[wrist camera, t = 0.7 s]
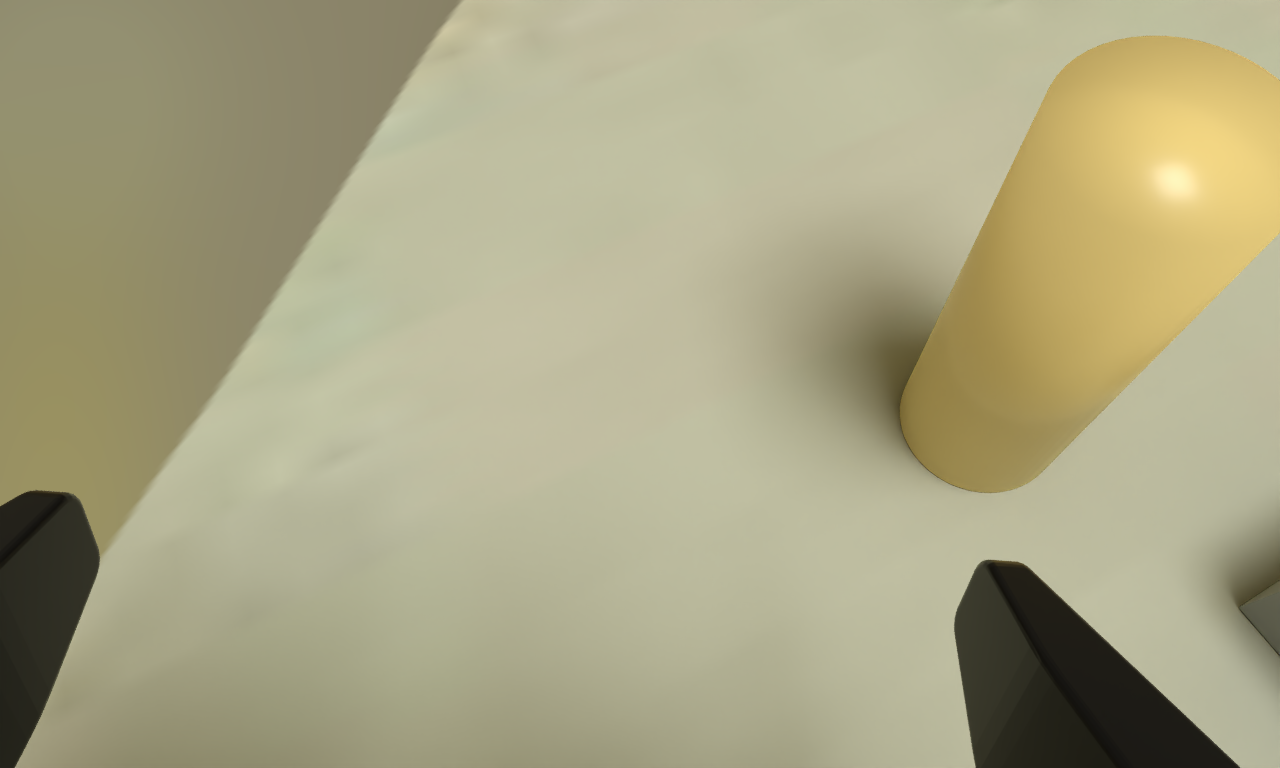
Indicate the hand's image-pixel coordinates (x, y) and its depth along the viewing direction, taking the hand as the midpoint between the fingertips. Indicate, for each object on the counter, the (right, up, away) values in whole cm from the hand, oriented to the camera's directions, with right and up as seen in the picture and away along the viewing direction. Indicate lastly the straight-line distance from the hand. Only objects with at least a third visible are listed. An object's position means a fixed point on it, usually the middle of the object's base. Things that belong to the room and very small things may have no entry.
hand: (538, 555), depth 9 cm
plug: (+11, +1, +17) cm, 20 cm away
